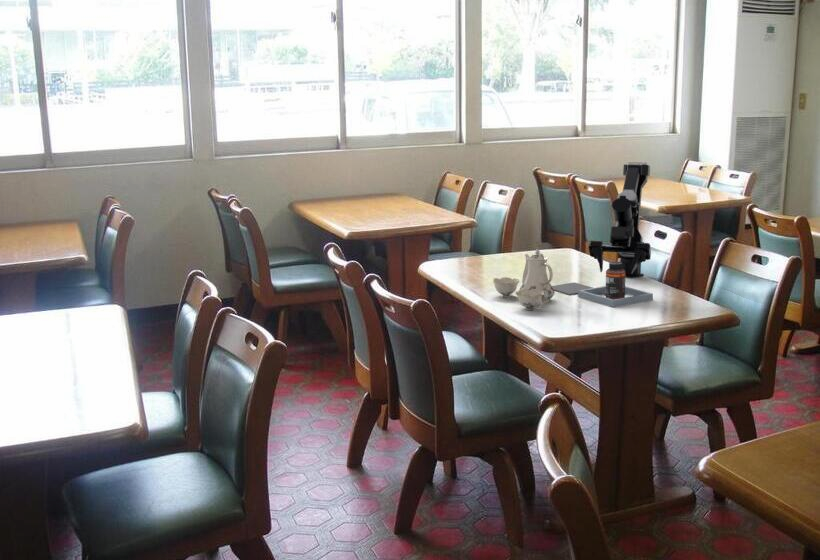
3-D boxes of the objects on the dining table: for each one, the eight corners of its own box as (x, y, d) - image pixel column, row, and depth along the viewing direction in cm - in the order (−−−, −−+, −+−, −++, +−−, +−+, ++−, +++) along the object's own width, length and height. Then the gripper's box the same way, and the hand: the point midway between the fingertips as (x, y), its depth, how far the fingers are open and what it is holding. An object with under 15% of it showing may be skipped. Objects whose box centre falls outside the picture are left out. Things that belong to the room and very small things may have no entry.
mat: (574, 283, 298) (574, 282, 298) (598, 290, 288) (598, 289, 288) (545, 288, 293) (545, 286, 293) (569, 295, 283) (569, 293, 282)
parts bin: (616, 290, 288) (616, 284, 288) (652, 300, 274) (652, 293, 274) (578, 296, 280) (578, 290, 280) (613, 307, 267) (613, 300, 266)
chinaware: (484, 299, 286) (479, 249, 282) (529, 288, 292) (525, 239, 288) (529, 320, 261) (524, 265, 257) (577, 307, 267) (573, 254, 263)
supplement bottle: (623, 296, 280) (624, 260, 278) (626, 300, 274) (627, 264, 272) (604, 296, 281) (605, 260, 278) (606, 300, 275) (607, 264, 272)
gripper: (590, 215, 281) (582, 255, 273) (651, 217, 274) (645, 259, 266) (594, 235, 290) (586, 275, 282) (653, 238, 283) (647, 279, 275)
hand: (615, 272), depth 276 cm, fingers open, 9 cm apart
